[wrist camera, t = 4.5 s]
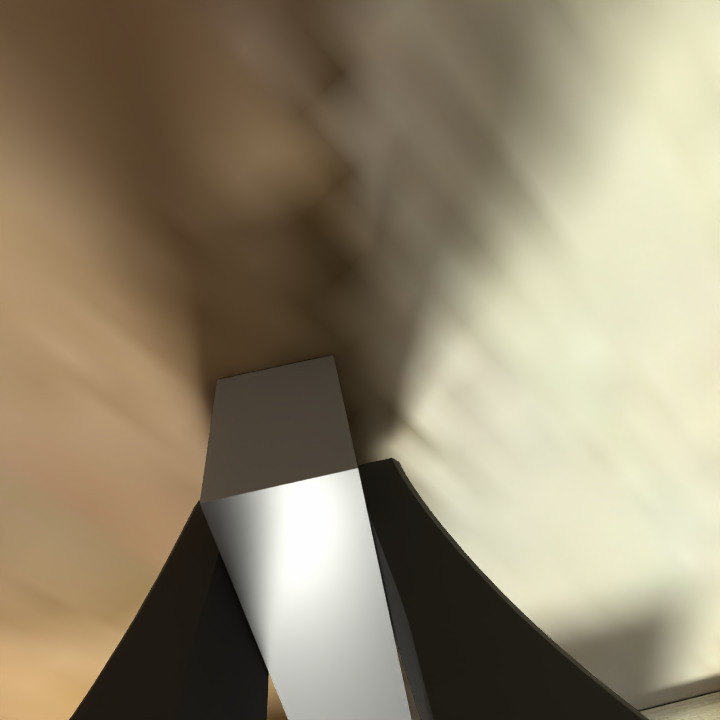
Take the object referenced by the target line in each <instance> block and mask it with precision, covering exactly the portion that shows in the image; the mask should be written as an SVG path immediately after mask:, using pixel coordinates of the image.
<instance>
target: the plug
mask: <svg viewBox="0 0 720 720" xmlns="http://www.w3.org/2000/svg"><path fill="white" fill-rule="evenodd" d="M200 505H201V508H202V510H203V513H204V515H205V517H206V520H207V522H208V525H209V527H210V530H211V532H212V535H213V537H214V539H215V542H216V544H217V547H218V549H219V552H220V554H221V557H222V559H223V561H224V564H225V566H226V569H227V571H228V574H229V576H230V579H231V581H232V584H233V586H234V588H235V591H236V593H237V596H238V598H239V601H240V603H241V606H242V608H243V610H244V613H245V615H246V618H247V620H248V623H249V625H250V628H251V630H252V632H253V635H254V637H255V640H256V642H257V645H258V647H259V650H260V652H261V654H262V657H263V659H264V662H265V664H266V667H267V669H268V672H269V674H270V676H271V679H272V681H273V684H274V686H275V689H276V691H277V694H278V696H279V698H280V701H281V703H282V706H283V708H284V711H285V713H286V716H287V718H288V720H412V719H411V715H410V710H409V705H408V701H407V696H406V691H405V686H404V682H403V677H402V672H401V668H400V663H399V658H398V654H397V649H396V644H395V640H394V635H393V630H392V625H391V621H390V616H389V611H388V607H387V602H386V597H385V593H384V588H383V583H382V578H381V574H380V569H379V564H378V560H377V555H376V550H375V546H374V541H373V536H372V532H371V527H370V522H369V517H368V513H367V508H366V503H365V499H364V494H363V489H362V485H361V480H360V475H359V471H358V466H357V461H356V457H355V452H354V448H353V443H352V438H351V434H350V429H349V425H348V420H347V415H346V411H345V406H344V402H343V397H342V392H341V388H340V383H339V379H338V374H337V369H336V365H335V360H334V356H333V355H331V356H326V357H322V358H317V359H312V360H308V361H303V362H298V363H293V364H289V365H284V366H279V367H275V368H270V369H265V370H261V371H256V372H251V373H247V374H242V375H237V376H233V377H228V378H223V379H219V380H217V384H216V391H215V398H214V406H213V413H212V420H211V427H210V434H209V441H208V448H207V455H206V463H205V470H204V477H203V484H202V491H201V498H200Z"/></svg>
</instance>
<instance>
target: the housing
mask: <svg viewBox="0 0 720 720" xmlns="http://www.w3.org/2000/svg"><path fill="white" fill-rule="evenodd" d="M640 713H642V714H643V715H644V716H645V717H647V718H648V719H649V720H720V692H716V693H712V694H708V695H704V696H700V697H696V698H692V699H688V700H684V701H680V702H676V703H672V704H668V705H664V706H660V707H656V708H652V709H648V710H644V711H640Z"/></svg>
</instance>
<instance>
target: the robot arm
mask: <svg viewBox="0 0 720 720" xmlns="http://www.w3.org/2000/svg"><path fill="white" fill-rule="evenodd" d="M358 471H359V475H360V480H361V485H362V489H363V494H364V499H365V503H366V508H367V513H368V517H369V522H370V527H371V532H372V536H373V541H374V546H375V550H376V555H377V560H378V564H379V569H380V574H381V578H382V583H383V588H384V593H385V597H386V602H387V607H388V611H389V616H390V621H391V625H392V629H393V632H394V635H395V638H396V642H397V645H398V648H399V651H400V654H401V658H402V661H403V664H404V667H405V670H406V674H407V677H408V680H409V683H410V686H411V690H412V693H413V696H414V699H415V703H416V706H417V709H418V712H419V715H420V719H421V720H649V719H648V718H647V717H645V716H644V715H643V714H642V713H640V712H639V711H638V710H636V709H635V708H634V707H633V706H631V705H630V704H629V703H627V702H626V701H625V700H624V699H622V698H621V697H620V696H618V695H617V694H616V693H615V692H613V691H612V690H611V689H609V688H608V687H607V686H606V685H604V684H603V683H602V682H601V681H599V680H598V679H597V678H596V677H594V676H593V675H592V674H591V673H590V672H588V671H587V670H586V669H585V668H584V667H583V666H581V665H580V664H579V663H578V662H577V661H576V660H575V659H573V658H572V657H571V656H570V655H569V654H568V653H566V652H565V651H564V650H563V649H562V648H561V647H559V646H558V645H557V644H556V643H555V642H554V641H553V640H552V639H551V638H549V637H548V636H547V635H546V634H545V633H544V632H543V631H542V630H541V629H540V628H539V627H537V626H536V625H535V624H534V623H533V622H532V621H531V620H530V619H529V618H528V617H527V616H526V615H525V614H524V613H523V612H521V611H520V610H519V609H518V608H517V607H516V606H515V605H514V604H513V603H512V602H511V601H510V600H509V599H508V598H507V597H506V596H505V595H504V594H503V593H502V592H501V591H500V590H499V589H498V588H497V586H496V585H495V584H494V583H493V582H492V581H491V580H490V579H489V578H488V577H487V576H486V575H485V574H484V573H483V572H482V571H481V570H480V569H479V568H478V566H477V565H476V564H475V563H474V562H473V561H472V560H471V559H470V558H469V556H468V555H467V554H466V553H465V552H464V551H463V550H462V548H461V547H460V546H459V545H458V544H457V542H456V541H455V540H454V539H453V538H452V537H451V535H450V534H449V533H448V532H447V531H446V529H445V528H444V527H443V526H442V525H441V523H440V522H439V521H438V520H437V518H436V517H435V516H434V515H433V513H432V512H431V511H430V509H429V508H428V506H427V505H426V504H425V502H424V501H423V500H422V498H421V497H420V496H419V494H418V493H417V491H416V490H415V488H414V487H413V485H412V484H411V482H410V481H409V479H408V477H407V476H406V474H405V472H404V471H403V469H402V467H401V465H400V463H399V462H398V461H396V460H395V459H393V458H389V459H385V460H380V461H376V462H371V463H367V464H362V465H358ZM268 675H269V672H268V669H267V667H266V664H265V662H264V659H263V657H262V654H261V652H260V650H259V647H258V645H257V642H256V640H255V637H254V635H253V632H252V630H251V628H250V625H249V623H248V620H247V618H246V615H245V613H244V610H243V608H242V606H241V603H240V601H239V598H238V596H237V593H236V591H235V588H234V586H233V584H232V581H231V579H230V576H229V574H228V571H227V569H226V566H225V564H224V561H223V559H222V557H221V554H220V552H219V549H218V547H217V544H216V542H215V539H214V537H213V535H212V532H211V530H210V527H209V525H208V522H207V520H206V517H205V515H204V513H203V510H202V508H201V505H200V501H198V503H197V504H196V506H195V507H194V509H193V511H192V513H191V515H190V517H189V518H188V520H187V522H186V524H185V526H184V528H183V530H182V532H181V534H180V536H179V538H178V540H177V542H176V544H175V546H174V548H173V550H172V551H171V553H170V555H169V557H168V559H167V561H166V563H165V565H164V566H163V568H162V570H161V572H160V574H159V576H158V578H157V579H156V581H155V583H154V585H153V586H152V588H151V590H150V592H149V593H148V595H147V597H146V599H145V600H144V602H143V604H142V606H141V608H140V609H139V611H138V613H137V615H136V616H135V618H134V620H133V621H132V623H131V625H130V627H129V628H128V630H127V632H126V633H125V635H124V636H123V638H122V640H121V641H120V643H119V644H118V646H117V647H116V649H115V651H114V652H113V654H112V655H111V657H110V659H109V660H108V662H107V663H106V665H105V667H104V668H103V670H102V671H101V673H100V675H99V676H98V678H97V679H96V681H95V683H94V684H93V686H92V687H91V689H90V690H89V692H88V693H87V695H86V696H85V698H84V699H83V700H82V702H81V703H80V705H79V706H78V708H77V709H76V711H75V712H74V714H73V715H72V717H71V718H70V719H69V720H267V699H268Z"/></svg>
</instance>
